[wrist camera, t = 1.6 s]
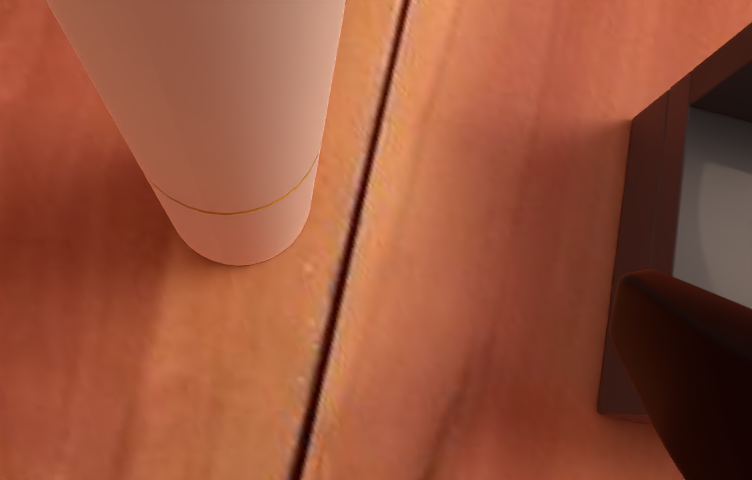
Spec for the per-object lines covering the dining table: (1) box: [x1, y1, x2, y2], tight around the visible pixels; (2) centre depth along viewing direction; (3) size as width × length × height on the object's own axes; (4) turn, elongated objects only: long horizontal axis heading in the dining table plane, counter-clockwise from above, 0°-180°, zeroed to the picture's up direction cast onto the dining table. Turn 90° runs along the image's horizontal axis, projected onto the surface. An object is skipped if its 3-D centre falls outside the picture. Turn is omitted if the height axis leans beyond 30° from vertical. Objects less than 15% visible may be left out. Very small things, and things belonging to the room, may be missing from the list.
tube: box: [46, 0, 346, 266], centre depth 14 cm, size 4×4×15 cm
